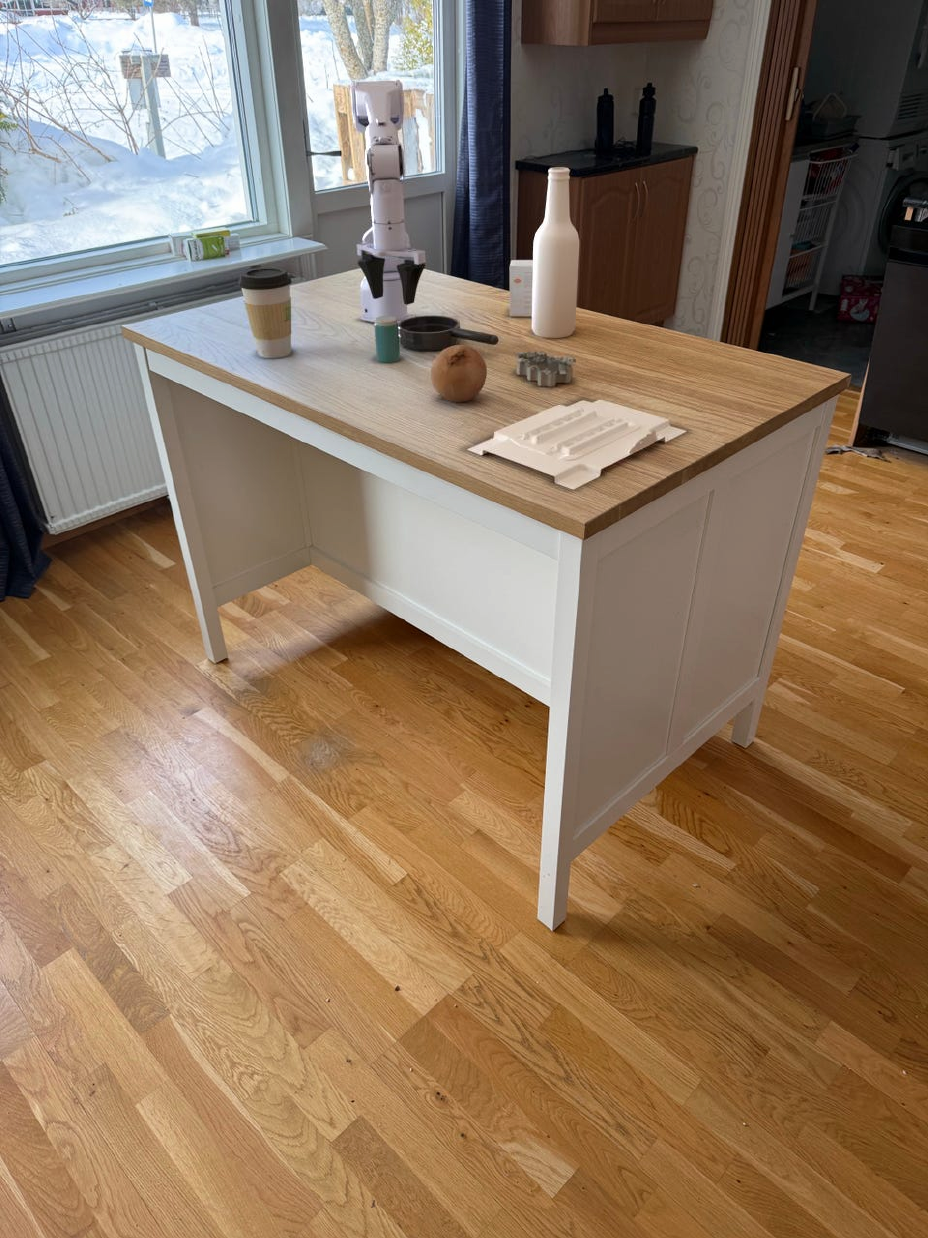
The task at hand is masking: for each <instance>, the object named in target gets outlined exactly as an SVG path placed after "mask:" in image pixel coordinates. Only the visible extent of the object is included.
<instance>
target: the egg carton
mask: <svg viewBox="0 0 928 1238" xmlns="http://www.w3.org/2000/svg"><path fill="white" fill-rule="evenodd" d="M513 354H514V356H515V358H516V359H517V361H516V375H518V376H526V380H527V381H530V382H533V381H534V382H535V381H536V382H537V385H538V386H539V387H550V388H551V387H555V386H556V384H558V383H563V384H569V383H571V382H572V381H571V380H572V378H573V371H574V370H573V365H574V364H575V363H577V359H576V358H574V357H571V356H566V357H563V356H561V357H559V356H558V355H552V354H547V352H545V351H543V350H542V351H540V352H539V353H537V351H536V350H534V351H532V352H531V351H528V352H524V351H522V352H521V353H517V352H513Z"/></svg>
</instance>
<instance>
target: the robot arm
mask: <svg viewBox="0 0 928 1238" xmlns="http://www.w3.org/2000/svg"><path fill="white" fill-rule="evenodd" d="M349 88H350V89H349V90H350V102H351V103H350V104H351V116H352V119H353V120H352V121H353V126H354V129H355V131H357V132H358V133H361V134H363V135H364V137H365V144H366V149H365V152H364V155H365V156H364V157H365V158H364V159H365V170H366V179H367V182H368V189H369V194H370V206H371V220H372V226H371V227H370V228H369V229H368V230H367V231H366V232H365V233H364V234H363V237H362V242H361V243H357V244H356V252H357V256H358V257H361V258H359V259H358V260H357V265H358V266H359V268H360V270H361V271H362V272H363V274H364V277H363V279H362V280H361V283H360V300H361V301H360V302H361V312H362V316H360V318H359V320H361V321H364V322H365V321H366V322H370V323H375V319H376V318H378V317H381V316H393V317H396V318H397V322H398V323H399V322H401V321H402V320H405V319H408V318H412V317H417V315H416V314H411V313H408V306H409V305H411V304H414V303H415V300H416V294H417V288H418V285H419V282H420V279H421V276H422V274H423V272H424V269H425V268H426V251H425V250H421V249H420V250H419V249H417V248H413V247H411V244H410V236H409V235H408V233H407V231H406V223H405V222H406V220H405V201H404V197H405V196H404V183H403V182H404V181H405V178H406V177H405V176H406V165H405V152H404V148H403V145H402V143H401V142H400V140H399V139H400V138H399V130H402V125H403V124H404V115H405V99H404V86H403V83H402V82H401V80H400V79H396V80H377V81H374V80H373V81H355V80H352V81H351V83H349ZM401 179H402V180H401Z"/></svg>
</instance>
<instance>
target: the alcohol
mask: <svg viewBox="0 0 928 1238" xmlns="http://www.w3.org/2000/svg"><path fill="white" fill-rule="evenodd" d="M547 172H548V176H547V180H548V183H547V194H546V204H545V214H544V218H543V222H542V223H541V225H540V226H539V228H538V229H537V231H536V232H535V234H534V239H533V247H532V248H533V249H532V250H533V251H532V260H533V291H532V317H531V330H532V332H533V334H534V335H535V336H537V337H541V338H544V339H545V338H546V339H562V338H567V337H569V336H571V335H573V333H574V331H575V330H576V317H577V302H578V301H577V299H578V298H577V297H578V281H579V279H578V277H579V259H580V258H579V257H580V238H579V233H578V231H577V228H576V227H575V226H574V224H573V223H572V220H571V213H570V178H571V176H570V172H571V170H570V169H569V168H568V167H564V166H563V167H561V166H559V167H549V169H548V171H547Z"/></svg>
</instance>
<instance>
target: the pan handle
mask: <svg viewBox="0 0 928 1238" xmlns="http://www.w3.org/2000/svg"><path fill="white" fill-rule="evenodd" d="M451 335H452V336H453V337H456V338H460V340H461V339H462V340H466V341H471V342H477V343H480V344H487V345H491V346H496V345H497V344H498V343H499V337H498V336H497V335H496V334H491V333H486V332H480V331H476V330H470V329H466V328H461V327H460V328H456V327H454V328H452V329H451Z"/></svg>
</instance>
